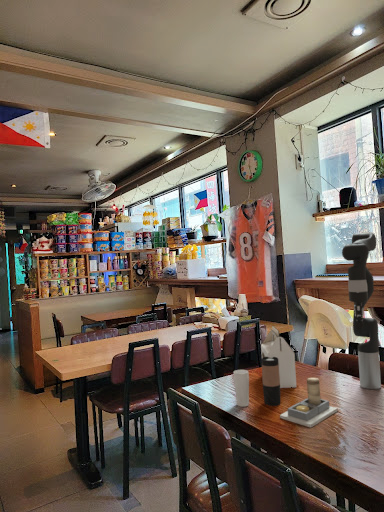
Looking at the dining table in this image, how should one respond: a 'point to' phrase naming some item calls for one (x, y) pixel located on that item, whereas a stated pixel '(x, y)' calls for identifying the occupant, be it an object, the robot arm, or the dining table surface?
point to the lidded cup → (313, 391)
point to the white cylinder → (242, 387)
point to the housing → (308, 413)
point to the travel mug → (271, 381)
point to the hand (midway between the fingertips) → (360, 327)
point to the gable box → (280, 357)
